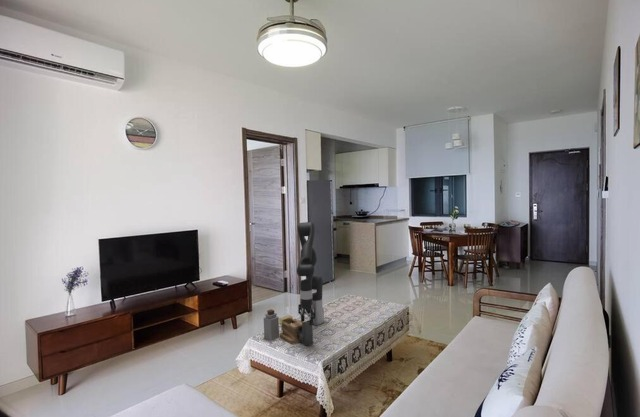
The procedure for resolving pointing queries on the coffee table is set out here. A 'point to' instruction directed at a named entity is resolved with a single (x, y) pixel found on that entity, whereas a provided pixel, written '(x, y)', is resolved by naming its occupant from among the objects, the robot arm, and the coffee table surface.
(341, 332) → the coffee table surface
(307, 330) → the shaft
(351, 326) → the coffee table surface
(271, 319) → the perfume bottle
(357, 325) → the coffee table surface
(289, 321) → the spacer
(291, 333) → the guide block
